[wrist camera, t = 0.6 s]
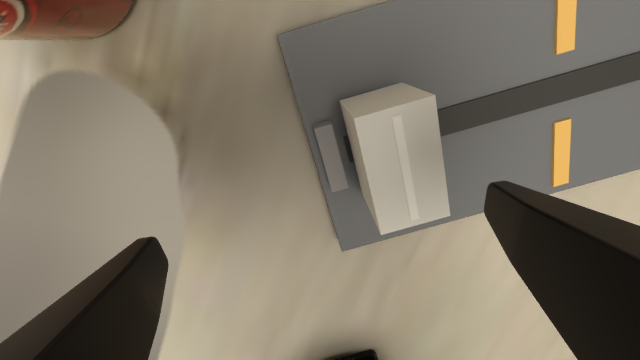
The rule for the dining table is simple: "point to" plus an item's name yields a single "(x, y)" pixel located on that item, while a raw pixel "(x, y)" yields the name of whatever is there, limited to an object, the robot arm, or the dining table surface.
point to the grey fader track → (477, 94)
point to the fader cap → (398, 155)
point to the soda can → (59, 18)
